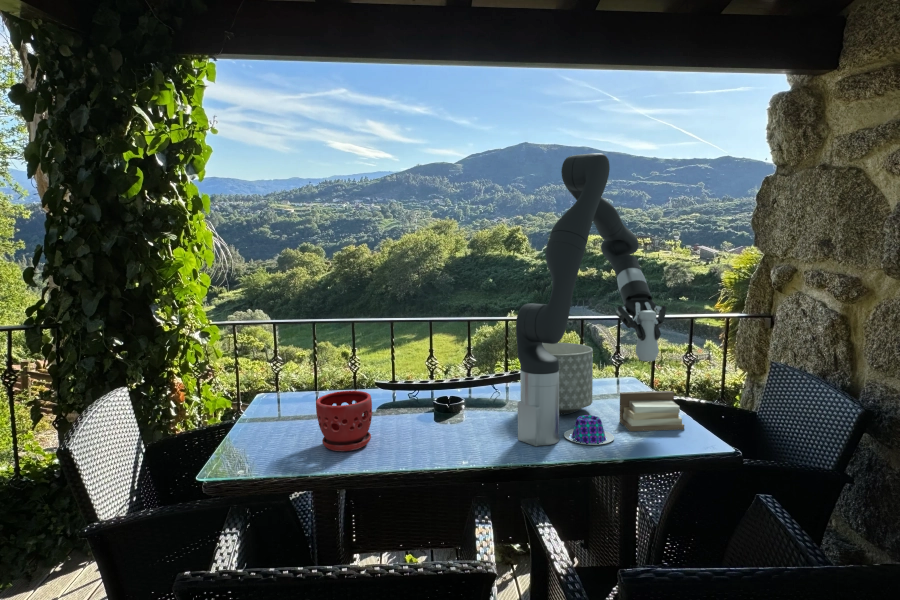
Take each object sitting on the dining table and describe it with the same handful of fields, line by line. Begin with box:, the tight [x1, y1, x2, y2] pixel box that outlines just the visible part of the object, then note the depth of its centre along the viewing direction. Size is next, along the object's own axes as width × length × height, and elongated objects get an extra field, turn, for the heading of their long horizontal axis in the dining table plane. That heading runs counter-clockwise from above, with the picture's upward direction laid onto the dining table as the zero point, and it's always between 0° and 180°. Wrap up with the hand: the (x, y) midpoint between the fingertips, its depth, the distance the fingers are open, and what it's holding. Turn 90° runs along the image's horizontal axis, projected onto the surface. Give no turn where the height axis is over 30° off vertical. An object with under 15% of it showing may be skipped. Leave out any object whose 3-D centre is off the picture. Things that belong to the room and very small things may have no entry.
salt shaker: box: [634, 310, 660, 362], centre depth 145 cm, size 6×6×13 cm
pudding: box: [563, 414, 615, 446], centre depth 135 cm, size 12×12×5 cm
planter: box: [542, 342, 594, 416], centre depth 158 cm, size 19×19×18 cm
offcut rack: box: [619, 390, 685, 432], centre depth 143 cm, size 8×14×8 cm, turn 92°
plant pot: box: [315, 390, 373, 452], centre depth 133 cm, size 13×13×12 cm
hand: (650, 338), depth 143 cm, fingers closed on salt shaker, 3 cm apart
